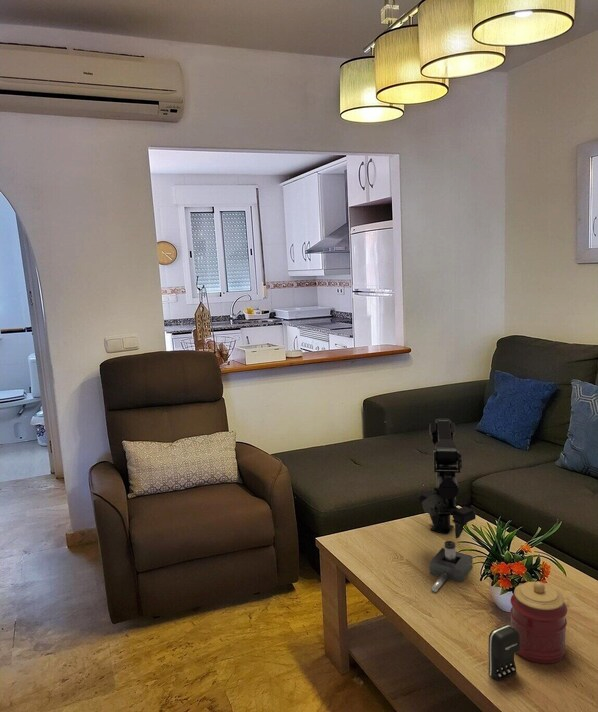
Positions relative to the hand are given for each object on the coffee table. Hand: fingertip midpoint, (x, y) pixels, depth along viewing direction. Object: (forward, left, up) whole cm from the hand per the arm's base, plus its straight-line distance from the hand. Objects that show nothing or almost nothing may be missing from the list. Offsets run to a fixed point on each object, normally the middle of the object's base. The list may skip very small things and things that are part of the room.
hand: (446, 532), depth 182 cm
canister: (+25, +33, -12) cm, 43 cm away
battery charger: (+39, +29, -12) cm, 50 cm away
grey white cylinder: (+1, +2, -11) cm, 11 cm away
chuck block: (+6, +2, -12) cm, 13 cm away
